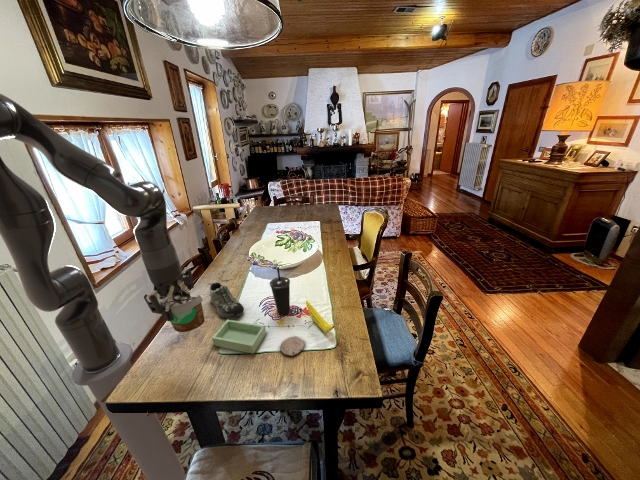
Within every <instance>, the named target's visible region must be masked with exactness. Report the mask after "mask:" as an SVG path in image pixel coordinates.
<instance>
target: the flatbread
mask: <svg viewBox="0 0 640 480" xmlns="http://www.w3.org/2000/svg"><path fill="white" fill-rule="evenodd" d="M304 347H305V340H304V339H302V338H301V337H299V336H296V335H295V336H294V335H293V336H289V337H286V338H285V339H284V340H282V342H281V343H280V345H279V349H280V351H281V353H282V354H283V355H285V356H290V357H293V356H295V355H297V354H299V353H300V352H301V351H303V349H304Z"/></svg>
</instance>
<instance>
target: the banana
mask: <svg viewBox="0 0 640 480" xmlns="http://www.w3.org/2000/svg"><path fill="white" fill-rule="evenodd" d="M305 305H306V309H307V311H308V313H309V315H310V316H311V318H312V320H313V321H314V322H315V324H316V325H317V326H318V327H319V328H320V329H321V330H322V331H324V332H330V331H332V330H334V328H335V327H336V326H335V325H333V324H330V323H329V322H327V321H326V320H325V319H324V318H323V317H322V315H320V312H318V311H317V309H316V308H315V307H314V306H313V305H312V304H311V302H309V301H308V300H305Z"/></svg>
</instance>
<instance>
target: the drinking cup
mask: <svg viewBox="0 0 640 480" xmlns="http://www.w3.org/2000/svg"><path fill="white" fill-rule="evenodd" d="M276 271H277V277H275V278H273V279H271V280H270V281H269V287H270V289H271V293H272V296H273V300H274V304H275V307H276V311H277V314H278V315H280V316H286V315H287V314H289V313H290V312H291V311H290V309H291V308H290V307H291V306H290V304H291V303H290V301H291V300H290V299H291V298H290V297H291V295H290V294H291V293H290V292H291V291H290V288H291V287H290V284H291V280H290V278H289V277H287V276H281V273H280V267H279V266H278V267H276Z"/></svg>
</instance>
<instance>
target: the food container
mask: <svg viewBox="0 0 640 480" xmlns="http://www.w3.org/2000/svg"><path fill="white" fill-rule="evenodd" d="M163 297H164V296H163ZM164 298H165V299H167V297H164ZM203 301H204V300H203V298H202V296H201V295H200V294H198V295H197V296H191V297H189V296H185V295H181V294H178V295H173V296H172V301H171V302H170V307H169V309H170V310H171V313H172V316H173V318H174V320H173V321H169V322H170V324H171V326H172V329H173V330H174V331H176V332H178V333H188V332H190V331H194V330H196V329H197V328H199V327H201V326H202V325H204V323H205V322H206V321H205V316H204V315H205V314H204V310H203V304H202V302H203ZM164 306H165V303H164Z"/></svg>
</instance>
